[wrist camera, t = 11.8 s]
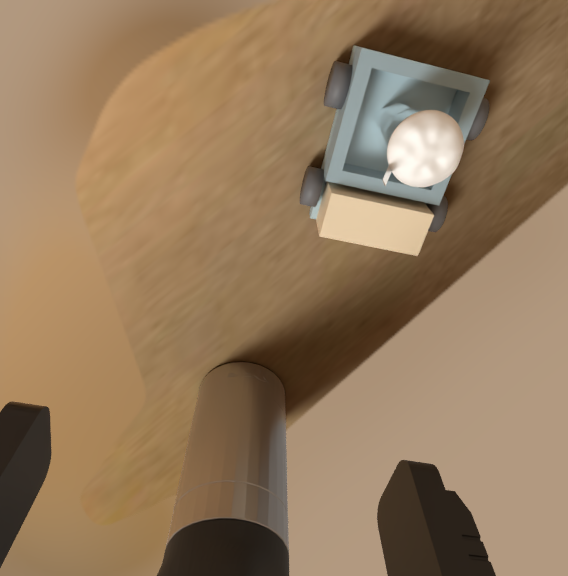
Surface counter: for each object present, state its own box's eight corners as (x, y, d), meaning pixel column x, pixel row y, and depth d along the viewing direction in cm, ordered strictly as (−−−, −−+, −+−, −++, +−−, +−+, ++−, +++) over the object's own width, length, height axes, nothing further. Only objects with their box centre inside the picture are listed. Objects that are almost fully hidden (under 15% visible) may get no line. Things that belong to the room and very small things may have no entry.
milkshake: (345, 115, 34) (369, 147, 26) (414, 80, 33) (463, 100, 25) (368, 169, 36) (396, 215, 28) (433, 138, 35) (484, 176, 27)
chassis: (421, 236, 41) (437, 260, 37) (295, 210, 39) (297, 231, 35) (485, 78, 34) (512, 86, 30) (337, 40, 33) (346, 43, 29)
